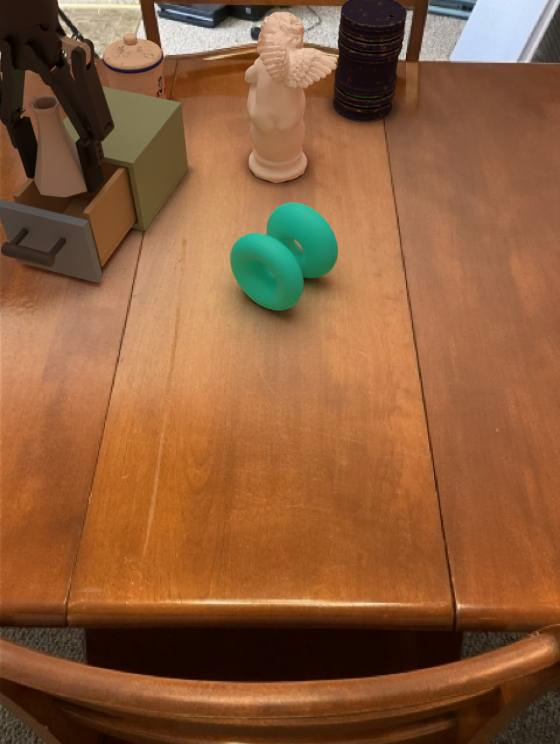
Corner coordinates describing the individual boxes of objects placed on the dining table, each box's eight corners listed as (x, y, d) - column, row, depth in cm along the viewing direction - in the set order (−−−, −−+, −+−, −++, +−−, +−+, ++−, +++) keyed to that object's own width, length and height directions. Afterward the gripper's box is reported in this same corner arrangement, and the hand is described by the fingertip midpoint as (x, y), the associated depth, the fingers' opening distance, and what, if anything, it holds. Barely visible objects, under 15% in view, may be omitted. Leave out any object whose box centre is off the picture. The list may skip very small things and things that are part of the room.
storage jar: (320, 108, 110) (327, 13, 98) (351, 83, 115) (361, -11, 103) (373, 129, 107) (387, 33, 95) (403, 102, 112) (420, 7, 100)
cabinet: (145, 231, 91) (132, 163, 82) (61, 211, 93) (41, 142, 85) (188, 169, 99) (181, 102, 91) (110, 152, 102) (96, 85, 93)
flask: (97, 196, 79) (78, 118, 71) (33, 202, 78) (7, 123, 70) (97, 160, 83) (79, 82, 76) (36, 165, 83) (12, 87, 75)
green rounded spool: (226, 291, 84) (222, 228, 76) (276, 248, 89) (277, 185, 81) (291, 328, 80) (294, 266, 72) (339, 282, 85) (346, 218, 77)
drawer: (80, 308, 81) (63, 251, 74) (-4, 285, 83) (-28, 228, 76) (146, 216, 91) (136, 159, 84) (70, 198, 93) (54, 141, 86)
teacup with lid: (171, 121, 107) (162, 48, 98) (112, 126, 106) (98, 52, 97) (166, 82, 114) (157, 10, 105) (111, 86, 113) (97, 14, 104)
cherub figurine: (267, 138, 104) (268, -14, 87) (342, 160, 101) (358, 6, 84) (230, 181, 98) (223, 26, 80) (309, 206, 95) (319, 49, 77)
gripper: (-111, -31, 62) (-27, 179, 80) (86, 4, 58) (128, 216, 76) (-61, -61, 67) (8, 144, 85) (125, -30, 63) (156, 178, 81)
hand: (65, 178), depth 81 cm, fingers closed on flask, 7 cm apart
